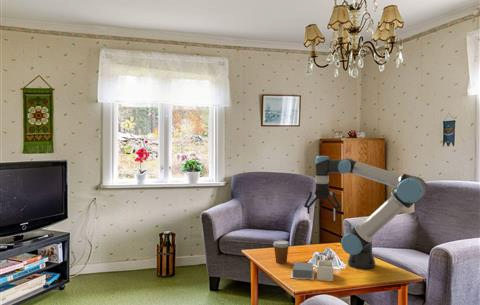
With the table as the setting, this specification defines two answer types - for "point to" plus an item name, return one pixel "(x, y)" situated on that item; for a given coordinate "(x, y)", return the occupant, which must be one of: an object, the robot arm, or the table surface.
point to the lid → (302, 270)
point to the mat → (301, 277)
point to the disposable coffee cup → (281, 251)
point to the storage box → (325, 270)
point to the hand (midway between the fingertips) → (322, 219)
